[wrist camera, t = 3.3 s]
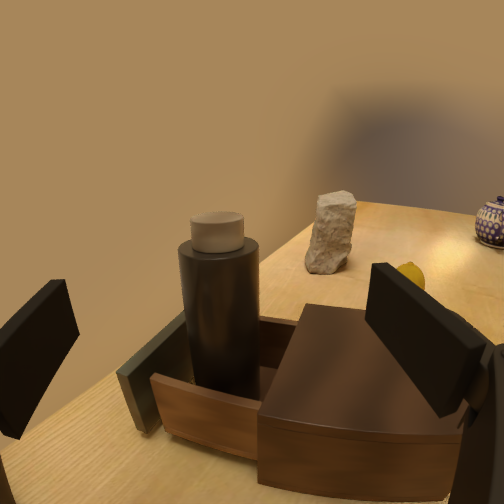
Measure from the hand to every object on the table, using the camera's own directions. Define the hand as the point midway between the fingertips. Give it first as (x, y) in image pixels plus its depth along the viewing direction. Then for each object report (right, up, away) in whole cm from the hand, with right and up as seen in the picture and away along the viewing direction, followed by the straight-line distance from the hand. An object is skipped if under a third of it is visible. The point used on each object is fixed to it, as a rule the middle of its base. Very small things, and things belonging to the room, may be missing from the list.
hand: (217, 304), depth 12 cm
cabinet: (+11, -14, +10) cm, 21 cm away
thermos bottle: (-1, -11, +14) cm, 17 cm away
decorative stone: (+16, -1, +50) cm, 53 cm away
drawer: (-1, -12, +14) cm, 18 cm away
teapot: (+75, +4, +61) cm, 97 cm away
